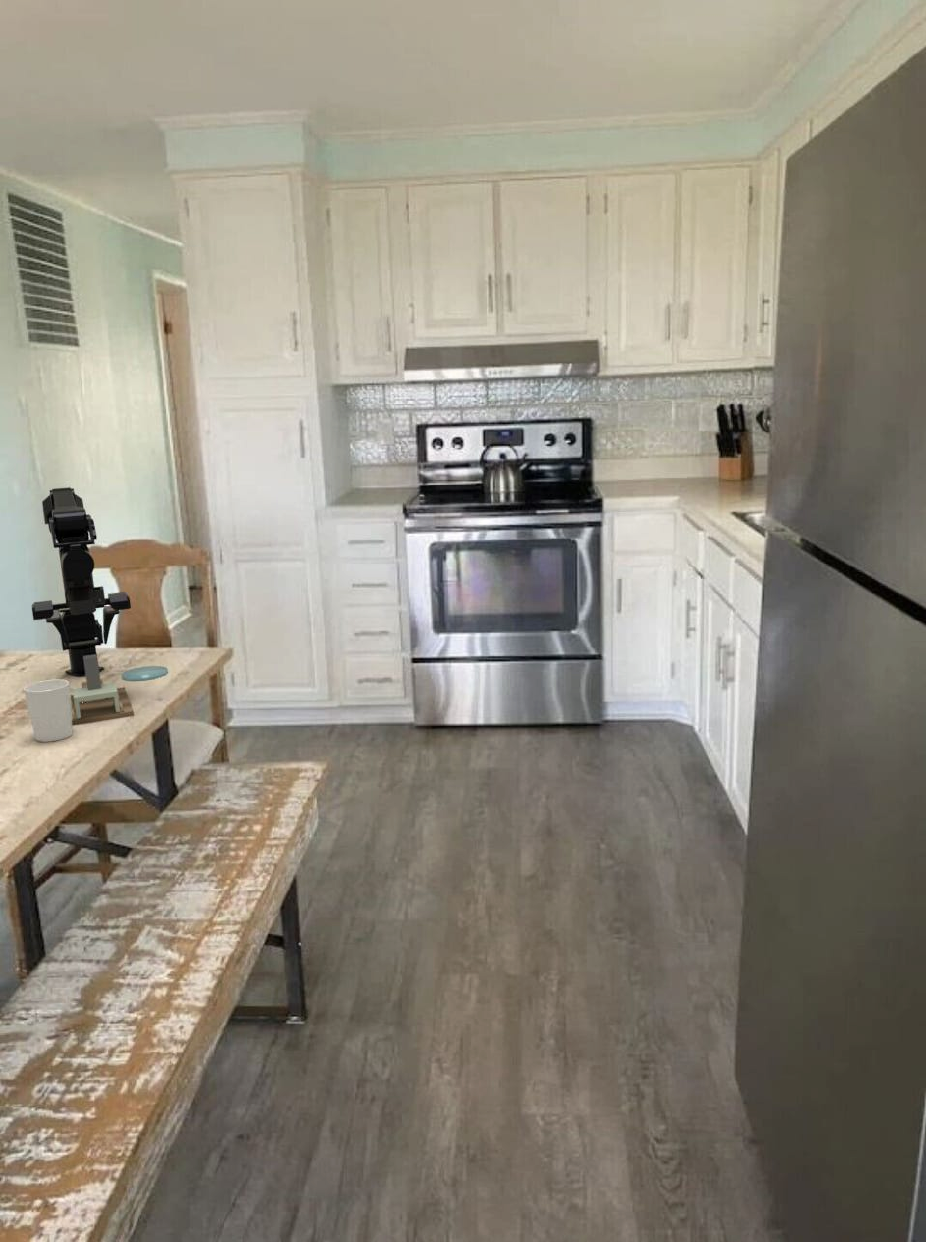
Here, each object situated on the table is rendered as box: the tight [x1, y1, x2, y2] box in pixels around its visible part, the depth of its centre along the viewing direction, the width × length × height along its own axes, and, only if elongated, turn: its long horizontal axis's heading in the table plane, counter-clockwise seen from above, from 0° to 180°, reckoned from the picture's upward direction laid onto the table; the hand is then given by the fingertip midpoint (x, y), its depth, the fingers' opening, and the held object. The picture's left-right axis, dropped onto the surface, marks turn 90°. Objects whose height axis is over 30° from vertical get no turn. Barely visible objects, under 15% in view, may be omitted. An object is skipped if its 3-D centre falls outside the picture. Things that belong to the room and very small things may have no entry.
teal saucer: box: [121, 665, 169, 682], centre depth 225 cm, size 10×10×1 cm
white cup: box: [23, 678, 74, 743], centre depth 185 cm, size 8×8×10 cm
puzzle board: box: [71, 686, 135, 726], centre depth 201 cm, size 19×13×1 cm
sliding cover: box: [72, 654, 120, 718], centre depth 195 cm, size 6×8×11 cm
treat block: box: [81, 678, 105, 702], centre depth 206 cm, size 4×4×4 cm
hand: (87, 646), depth 203 cm, fingers open, 7 cm apart
